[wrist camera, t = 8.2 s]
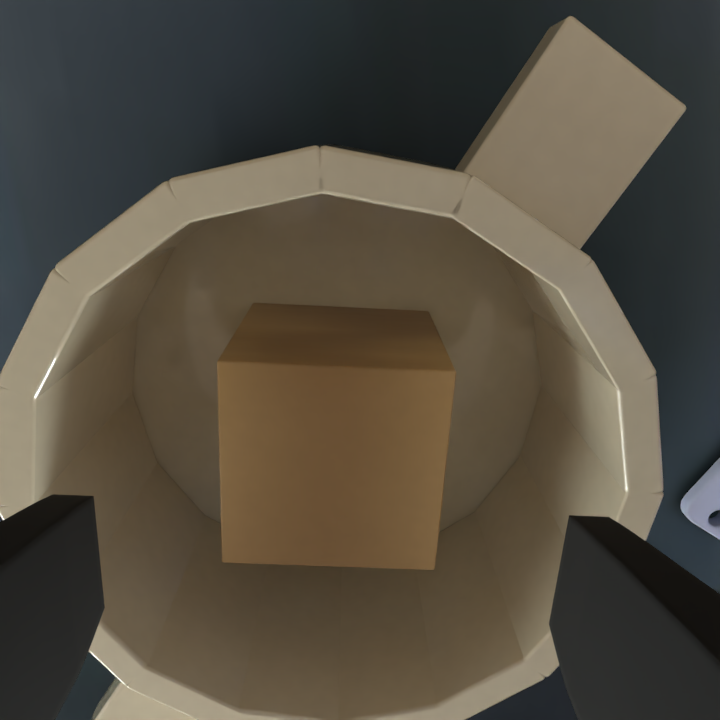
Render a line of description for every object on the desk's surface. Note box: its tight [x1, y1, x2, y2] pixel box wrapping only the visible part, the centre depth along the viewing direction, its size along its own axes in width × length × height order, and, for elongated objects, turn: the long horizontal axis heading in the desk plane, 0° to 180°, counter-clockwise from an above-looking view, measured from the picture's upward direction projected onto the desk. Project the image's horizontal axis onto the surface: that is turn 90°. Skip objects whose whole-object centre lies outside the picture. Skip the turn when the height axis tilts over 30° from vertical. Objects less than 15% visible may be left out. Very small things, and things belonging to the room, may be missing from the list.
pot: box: [0, 16, 686, 720], centre depth 14 cm, size 12×17×6 cm
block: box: [217, 303, 456, 570], centre depth 14 cm, size 4×4×4 cm
